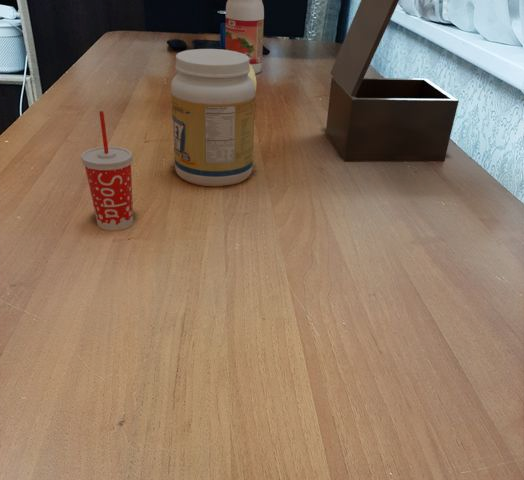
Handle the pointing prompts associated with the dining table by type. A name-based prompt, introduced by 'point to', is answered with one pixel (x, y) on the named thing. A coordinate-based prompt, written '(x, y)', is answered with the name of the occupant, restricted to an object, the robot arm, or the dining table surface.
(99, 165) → the beverage cup
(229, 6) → the fruit juice
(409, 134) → the chest
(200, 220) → the dining table surface
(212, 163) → the supplement tub
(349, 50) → the chest lid
